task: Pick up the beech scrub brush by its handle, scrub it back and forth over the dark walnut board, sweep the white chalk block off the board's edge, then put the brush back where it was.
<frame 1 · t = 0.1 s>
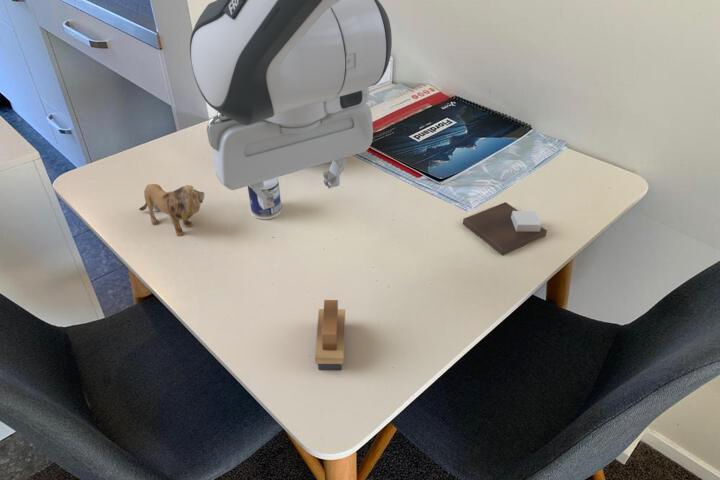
hand: (300, 195, 68), 17 cm above the table, tool pointing down, fingers open, 8 cm apart
chalk block: (525, 224, 90), point 1 cm above the table, touching board
board: (503, 230, 90), on the table
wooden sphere: (303, 155, 110), on the table
pill bottle: (266, 212, 94), on the table
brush: (331, 345, 70), on the table
lion figurine: (175, 223, 91), on the table
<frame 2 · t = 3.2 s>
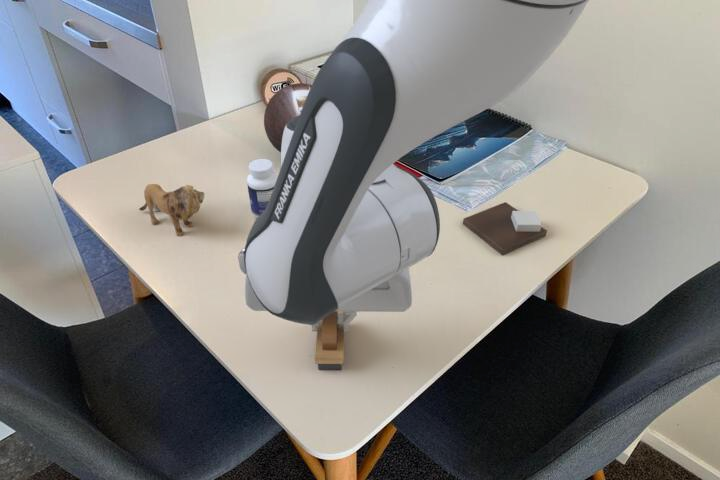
hand: (330, 327, 68), 4 cm above the table, tool pointing down, fingers closed on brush, 2 cm apart
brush: (331, 345, 70), on the table, touching gripper
everything else where it was.
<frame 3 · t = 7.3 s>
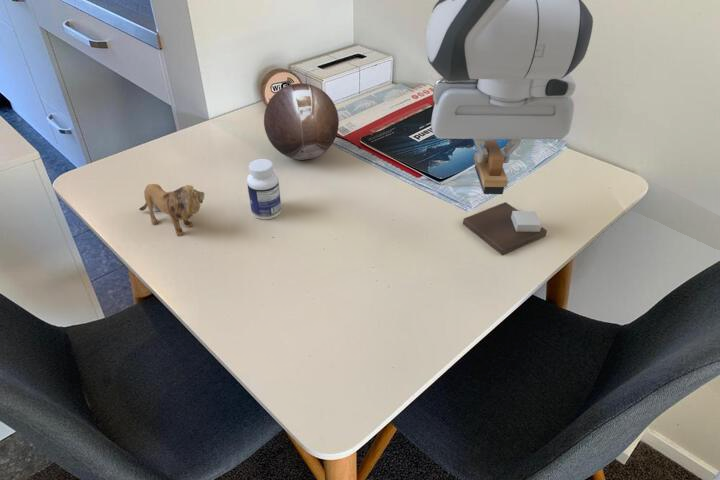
hand: (492, 161, 82), 14 cm above the table, tool pointing down, fingers closed on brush
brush: (488, 180, 84), point 10 cm above the table, touching gripper
everything else where it was.
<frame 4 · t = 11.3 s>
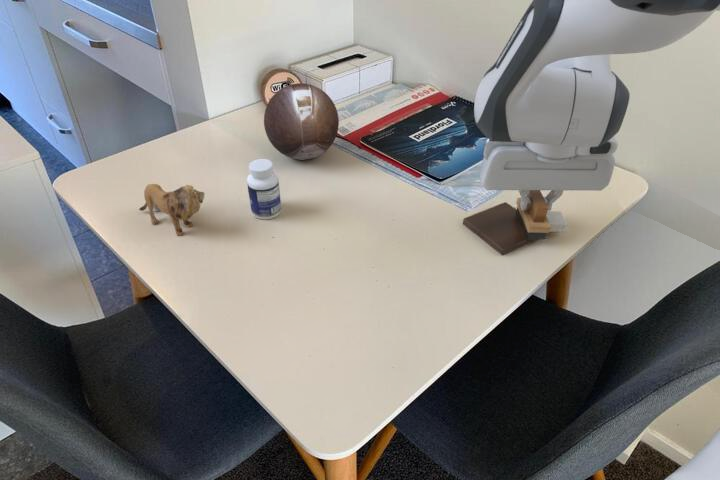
hand: (534, 208, 88), 5 cm above the table, tool pointing down, fingers closed on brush, 2 cm apart
chalk block: (550, 224, 90), point 1 cm above the table, touching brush
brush: (530, 224, 90), point 1 cm above the table, touching chalk block, gripper
everything else where it was.
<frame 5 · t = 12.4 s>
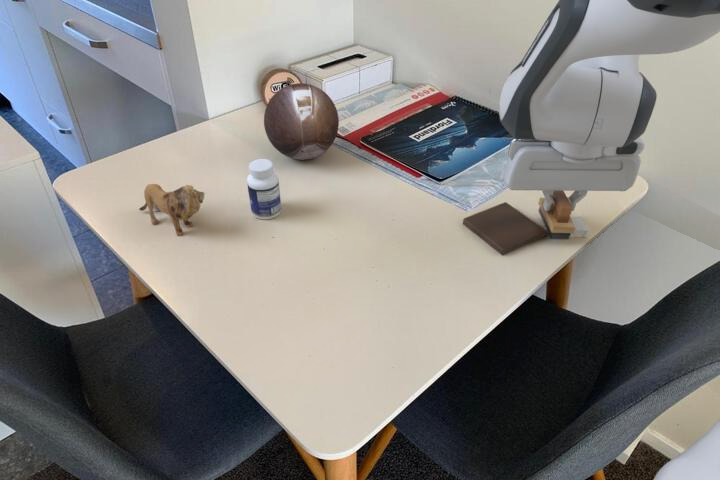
hand: (558, 209, 88), 5 cm above the table, tool pointing down, fingers closed on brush, 2 cm apart
chalk block: (571, 230, 91), on the table, touching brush
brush: (552, 224, 90), point 1 cm above the table, touching chalk block, gripper
everything else where it was.
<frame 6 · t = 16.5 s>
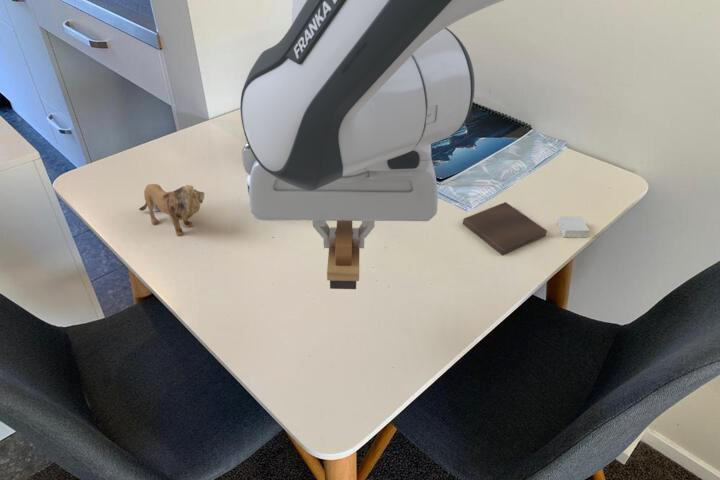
hand: (344, 245, 61), 16 cm above the table, tool pointing down, fingers closed on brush
chalk block: (571, 230, 91), on the table
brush: (344, 266, 63), point 13 cm above the table, touching gripper
everything else where it was.
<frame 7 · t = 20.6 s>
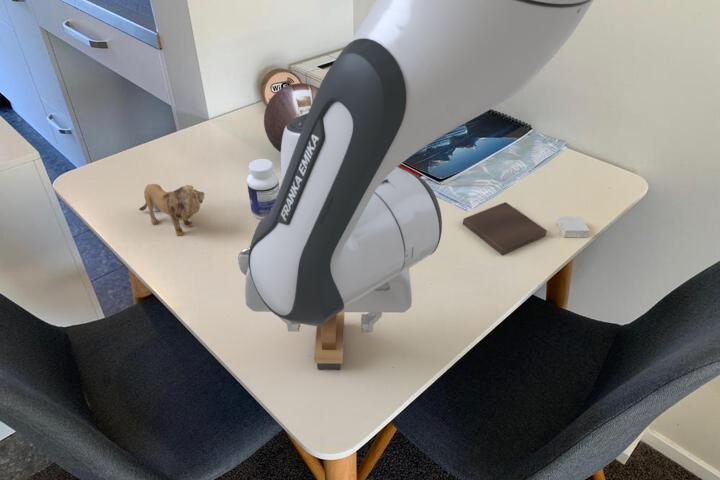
hand: (330, 328, 68), 4 cm above the table, tool pointing down, fingers open, 8 cm apart
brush: (330, 345, 70), on the table
everything else where it was.
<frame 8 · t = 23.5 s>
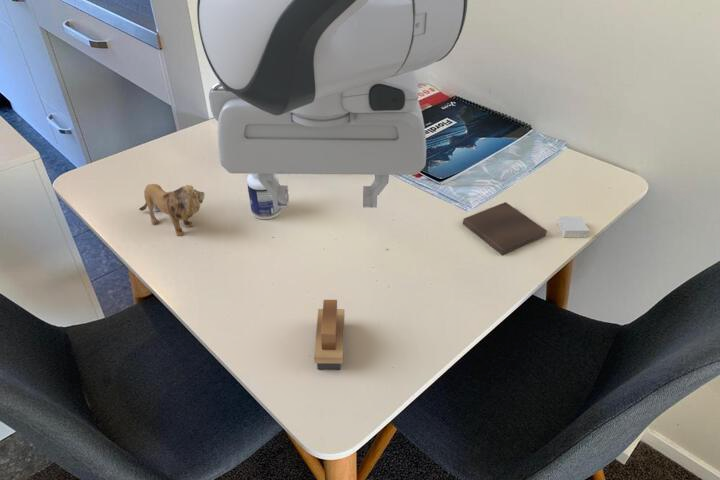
hand: (325, 204, 56), 23 cm above the table, tool pointing down, fingers open, 8 cm apart
nothing on the table moved.
at the end: chalk block inside the target area on the table beside the board (1.1 cm from its centre), on the table; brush inside the target area (0.1 cm from its centre), on the table; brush tilted 0° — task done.
